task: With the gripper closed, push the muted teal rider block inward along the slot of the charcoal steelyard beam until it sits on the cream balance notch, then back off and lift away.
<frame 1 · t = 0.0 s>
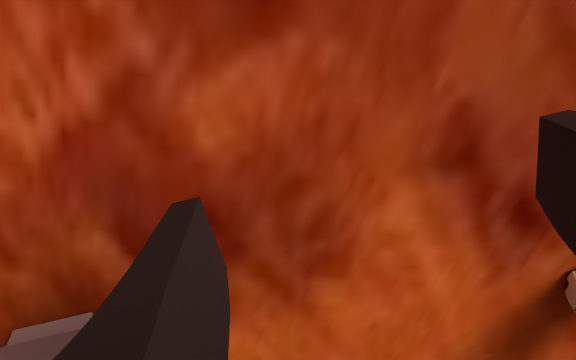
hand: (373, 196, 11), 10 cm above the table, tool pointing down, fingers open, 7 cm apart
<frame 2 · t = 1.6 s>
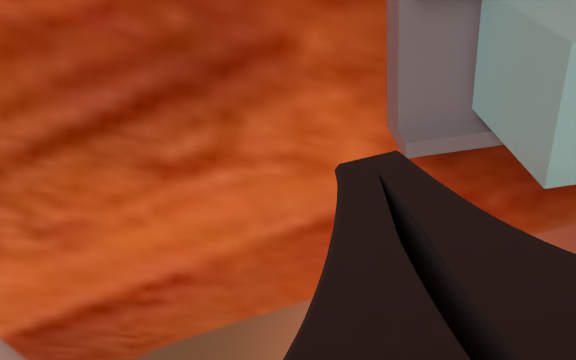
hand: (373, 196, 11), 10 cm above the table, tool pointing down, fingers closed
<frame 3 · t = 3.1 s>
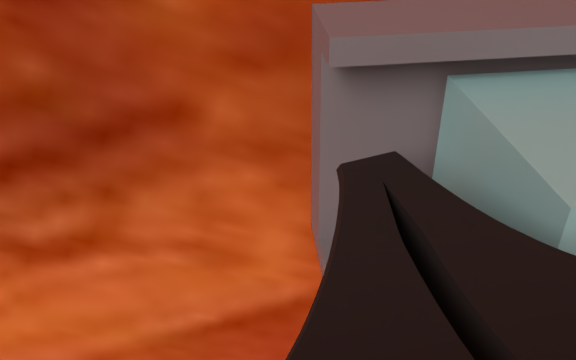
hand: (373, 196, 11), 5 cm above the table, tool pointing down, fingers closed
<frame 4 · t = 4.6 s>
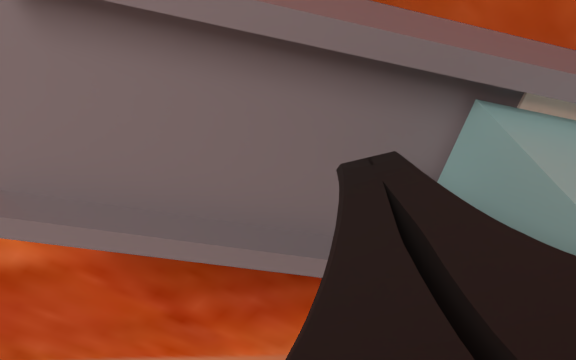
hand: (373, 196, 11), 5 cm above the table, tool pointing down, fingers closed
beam: (457, 125, 16), on the table
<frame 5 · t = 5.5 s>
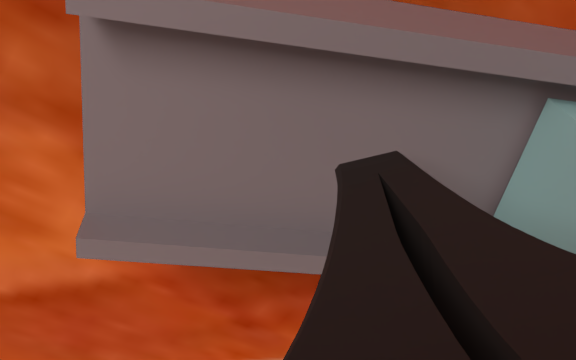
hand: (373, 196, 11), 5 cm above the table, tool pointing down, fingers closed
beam: (514, 119, 16), on the table
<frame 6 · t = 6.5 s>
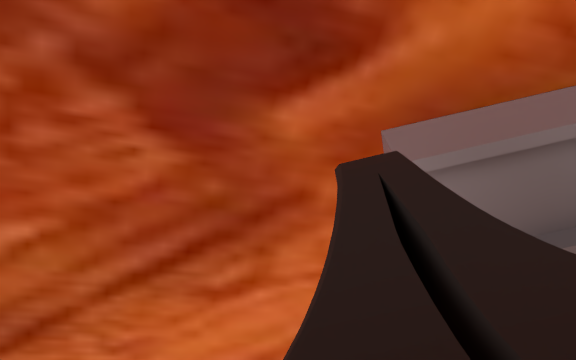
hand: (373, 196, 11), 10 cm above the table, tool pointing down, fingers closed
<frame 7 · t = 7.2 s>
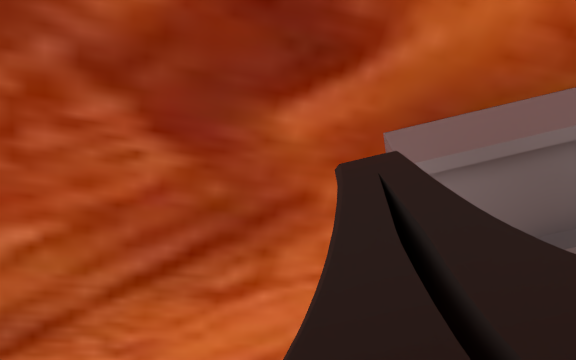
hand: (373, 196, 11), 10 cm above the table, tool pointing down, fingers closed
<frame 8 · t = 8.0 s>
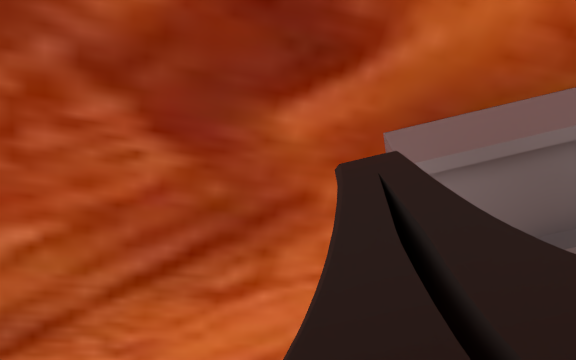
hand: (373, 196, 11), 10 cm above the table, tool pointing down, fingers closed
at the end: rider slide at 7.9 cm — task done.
